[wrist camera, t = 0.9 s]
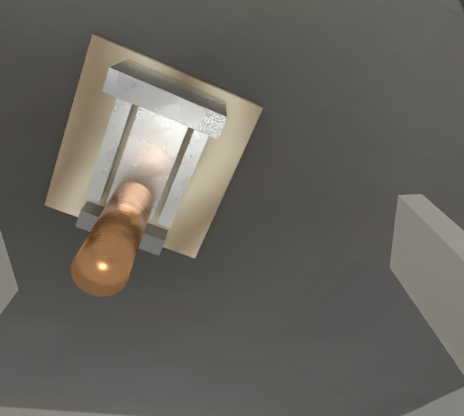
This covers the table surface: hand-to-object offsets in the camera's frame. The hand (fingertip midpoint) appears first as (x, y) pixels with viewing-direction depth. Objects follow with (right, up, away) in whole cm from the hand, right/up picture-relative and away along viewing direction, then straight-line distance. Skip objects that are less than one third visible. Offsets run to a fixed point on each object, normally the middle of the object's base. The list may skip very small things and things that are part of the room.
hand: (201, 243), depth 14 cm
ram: (-6, +6, +21) cm, 22 cm away
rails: (-6, +4, +22) cm, 23 cm away
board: (-6, +6, +22) cm, 24 cm away
